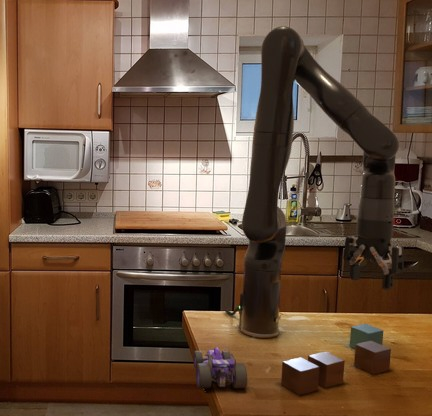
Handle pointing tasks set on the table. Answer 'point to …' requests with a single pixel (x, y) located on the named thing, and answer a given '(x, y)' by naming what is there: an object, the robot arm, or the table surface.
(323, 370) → the walnut block
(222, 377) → the toy race car
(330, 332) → the table surface
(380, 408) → the table surface
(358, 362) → the walnut block
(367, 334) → the teal block
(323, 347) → the table surface
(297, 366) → the walnut block
